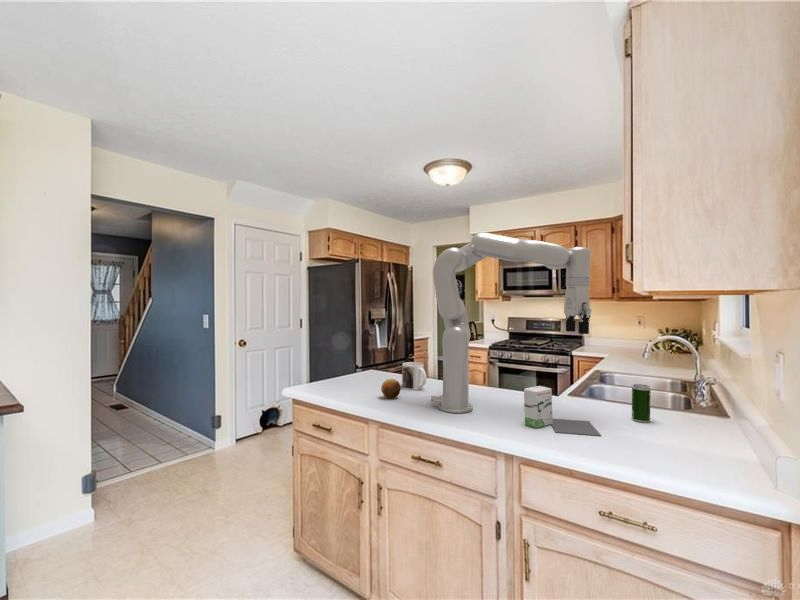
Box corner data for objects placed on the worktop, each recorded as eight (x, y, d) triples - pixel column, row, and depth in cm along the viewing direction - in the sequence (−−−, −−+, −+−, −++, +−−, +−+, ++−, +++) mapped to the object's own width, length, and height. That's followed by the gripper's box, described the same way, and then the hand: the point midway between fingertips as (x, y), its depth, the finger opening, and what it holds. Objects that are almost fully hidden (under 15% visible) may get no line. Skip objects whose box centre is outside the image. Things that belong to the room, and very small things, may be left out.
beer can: (635, 422, 130) (635, 387, 130) (629, 417, 136) (629, 383, 136) (653, 423, 129) (653, 387, 129) (646, 418, 134) (646, 384, 134)
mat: (555, 432, 119) (555, 431, 119) (548, 419, 133) (548, 418, 133) (601, 436, 117) (601, 435, 117) (588, 422, 130) (588, 421, 130)
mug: (423, 385, 184) (423, 362, 184) (426, 391, 172) (427, 366, 172) (401, 385, 183) (401, 362, 183) (403, 391, 171) (403, 366, 171)
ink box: (536, 428, 123) (535, 391, 123) (523, 424, 127) (522, 388, 127) (553, 423, 127) (552, 387, 127) (540, 419, 131) (539, 385, 132)
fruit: (404, 398, 159) (404, 378, 159) (389, 401, 153) (390, 381, 153) (391, 394, 165) (391, 376, 165) (377, 398, 159) (377, 378, 159)
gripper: (556, 284, 143) (555, 330, 143) (578, 282, 126) (577, 334, 126) (577, 284, 143) (576, 330, 143) (601, 282, 126) (600, 335, 126)
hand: (576, 332), depth 134 cm, fingers open, 9 cm apart
